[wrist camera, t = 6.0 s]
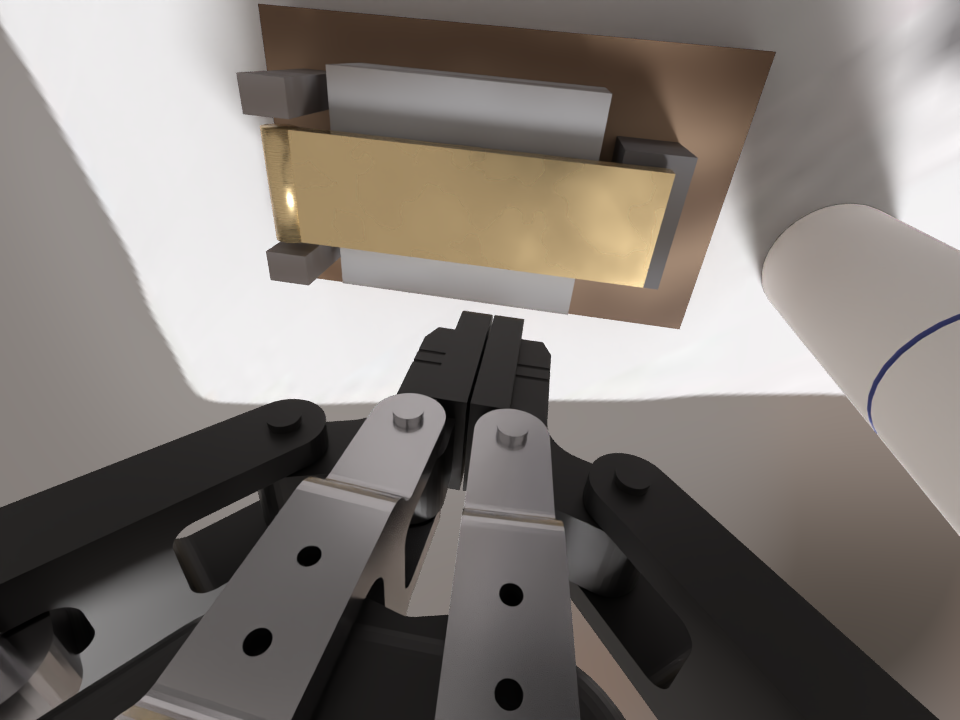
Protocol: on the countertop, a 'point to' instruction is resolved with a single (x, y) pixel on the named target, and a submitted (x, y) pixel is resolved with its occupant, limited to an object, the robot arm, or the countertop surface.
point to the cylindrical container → (881, 330)
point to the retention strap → (465, 203)
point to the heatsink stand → (516, 134)
